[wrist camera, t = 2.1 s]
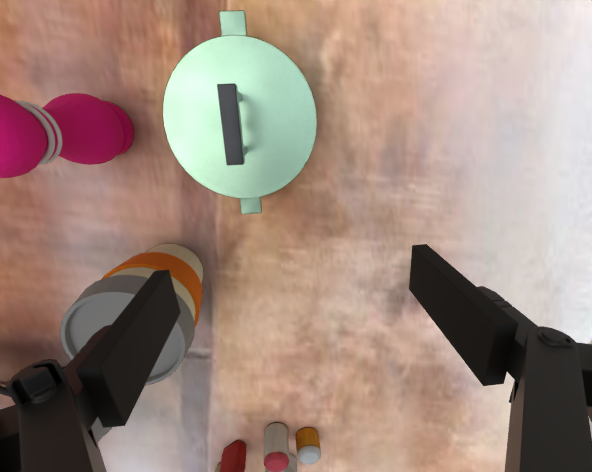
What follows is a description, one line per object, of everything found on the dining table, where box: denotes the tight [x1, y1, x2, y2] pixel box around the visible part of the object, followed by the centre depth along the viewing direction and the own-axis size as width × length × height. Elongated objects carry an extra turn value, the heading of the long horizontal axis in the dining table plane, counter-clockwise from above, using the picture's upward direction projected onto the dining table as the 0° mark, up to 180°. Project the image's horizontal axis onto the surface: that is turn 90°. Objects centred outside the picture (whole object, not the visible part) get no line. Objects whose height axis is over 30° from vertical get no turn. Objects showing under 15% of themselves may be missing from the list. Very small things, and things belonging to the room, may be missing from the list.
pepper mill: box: [0, 93, 134, 178], centre depth 27 cm, size 7×7×20 cm
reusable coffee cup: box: [60, 244, 203, 385], centre depth 37 cm, size 13×13×15 cm
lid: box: [163, 35, 317, 198], centre depth 27 cm, size 16×16×9 cm
